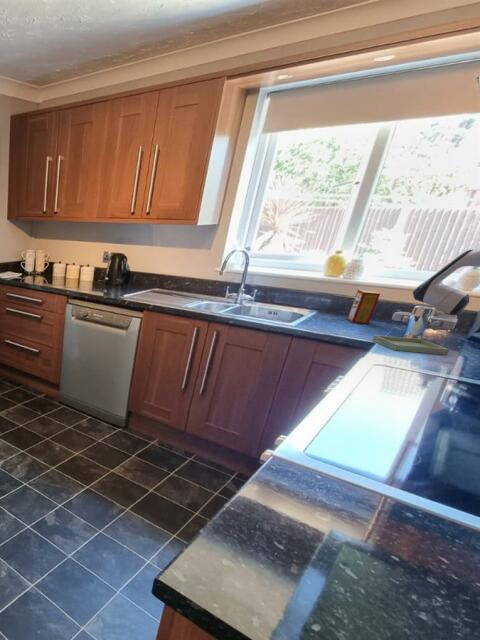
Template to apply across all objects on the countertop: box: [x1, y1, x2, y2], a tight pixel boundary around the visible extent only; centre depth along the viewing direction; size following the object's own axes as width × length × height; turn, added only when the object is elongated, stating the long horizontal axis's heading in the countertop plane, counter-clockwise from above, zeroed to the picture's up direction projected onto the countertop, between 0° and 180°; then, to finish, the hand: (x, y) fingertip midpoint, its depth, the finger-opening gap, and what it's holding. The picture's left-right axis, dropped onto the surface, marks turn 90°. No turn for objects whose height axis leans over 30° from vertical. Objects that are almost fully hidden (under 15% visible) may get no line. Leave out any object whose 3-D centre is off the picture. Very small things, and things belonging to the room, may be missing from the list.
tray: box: [372, 334, 450, 356], centre depth 179 cm, size 18×16×2 cm
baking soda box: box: [346, 289, 381, 325], centre depth 220 cm, size 10×6×16 cm
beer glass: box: [401, 305, 436, 339], centre depth 187 cm, size 7×7×15 cm
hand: (418, 321), depth 186 cm, fingers closed on beer glass, 7 cm apart
